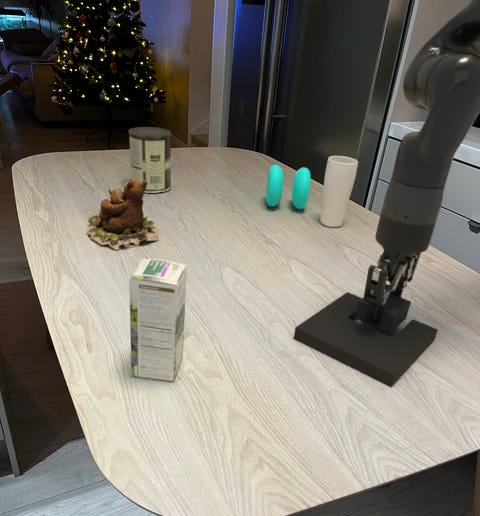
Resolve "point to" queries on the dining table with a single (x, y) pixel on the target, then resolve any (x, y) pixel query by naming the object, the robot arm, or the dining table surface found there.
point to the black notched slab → (364, 341)
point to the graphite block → (386, 312)
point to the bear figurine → (123, 218)
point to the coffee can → (151, 157)
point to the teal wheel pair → (298, 191)
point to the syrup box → (157, 318)
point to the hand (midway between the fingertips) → (381, 315)
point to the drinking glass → (337, 189)
